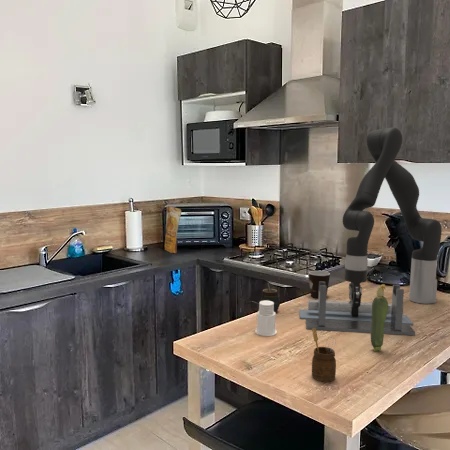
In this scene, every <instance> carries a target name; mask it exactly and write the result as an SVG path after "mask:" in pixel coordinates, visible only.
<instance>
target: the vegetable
mask: <svg viewBox="0 0 450 450" xmlns="http://www.w3.org/2000/svg"><path fill="white" fill-rule="evenodd" d="M385 290H386V284H384V283H383V284H381V285H380V286H379V287H378V288H377V290H376V296H375V297H374V298H373V299H372V302H371V303H372V325H371V333H370V343H371V346H372V347H373V350H374V352H377V351H381V350H382V346H383V345H384V335H385V334H384V324H385V319H386V316H387V312H388V299H387V298H386V297H385Z"/></svg>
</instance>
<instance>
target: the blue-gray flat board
mask: <svg viewBox="0 0 450 450" xmlns="http://www.w3.org/2000/svg"><path fill="white" fill-rule="evenodd" d="M298 312H299V320H306V318H307V319H318V311H315V310H308V309H299V311H298ZM325 319H326V320H344V321H362V322H372V313H358V317H352V315H351V313H350V312H334V311H326V314H325ZM385 323H391V314H387V316H386V319H385ZM402 324H409V325H410V326H414V322H413V321H412V320H411V319H410V317H409V316H408V315H407V314H402Z"/></svg>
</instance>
